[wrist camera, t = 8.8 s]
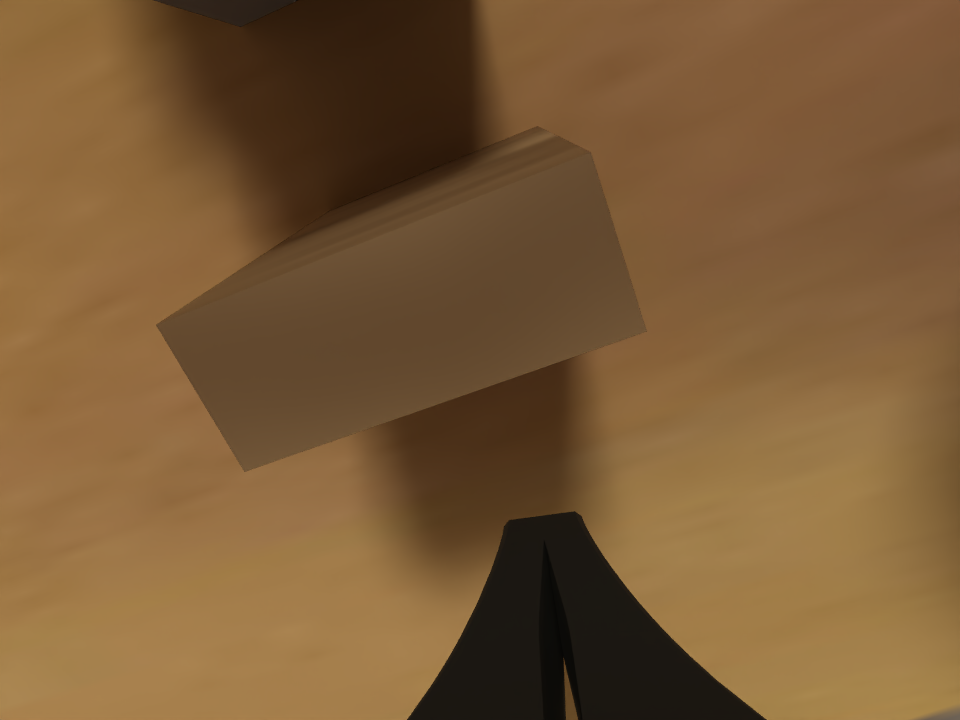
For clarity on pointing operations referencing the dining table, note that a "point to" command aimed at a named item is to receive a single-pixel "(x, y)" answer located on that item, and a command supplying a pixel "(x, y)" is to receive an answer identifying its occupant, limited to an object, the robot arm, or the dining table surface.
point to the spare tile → (410, 300)
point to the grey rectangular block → (230, 8)
